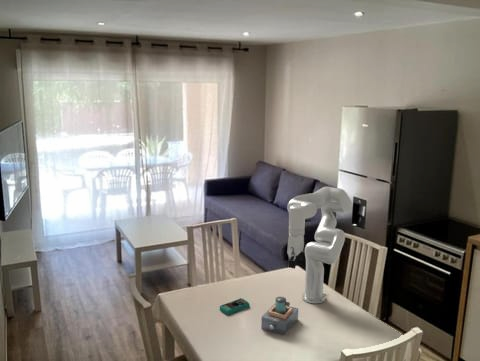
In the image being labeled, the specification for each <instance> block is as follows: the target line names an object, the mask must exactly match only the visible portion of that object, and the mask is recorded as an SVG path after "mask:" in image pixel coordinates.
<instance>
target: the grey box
mask: <svg viewBox="0 0 480 361" xmlns="http://www.w3.org/2000/svg"><path fill="white" fill-rule="evenodd" d="M298 320H299V308H297V307H294V306H291V305H289V306H287V305H286V314H285V315H283V314H279V313H275V303H274V304H273V305H271V307H270V308H269V309H268V310H266V312H265V313H264V314H263V315H262V316H261V329H262V330H265V331H268V332H271V333H274V334H277V335H282V336H286V335H287V334H288V333H289V331H290V330H291V329H292V328H293V327H294V325H295V324H296V323H297V321H298Z"/></svg>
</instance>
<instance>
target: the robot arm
mask: <svg viewBox="0 0 480 361" xmlns="http://www.w3.org/2000/svg"><path fill="white" fill-rule="evenodd" d="M286 206H287V207H286V208H287V209H286V210H287V212H288V240H287V251H286V253H287V256H288V268H291V269H296V262H297V261H301V262H303V260H304V256H305V281H304V282H305V283H304V284H305V285H304V292H303V293H302V294H301V299H302V300H303V301H304V302H306V303H309V304H321V303H324V302H325V301H326V295H325V294H324V275H325V267H324V264H326V265H327V264H328V265H334V264H335V263H337V261H338V259H339V256H340V254H341V252H342V248H343V246H344V243H345V242H346V234H345V232H344V230H343V229H340V228H336V227H337V223H338V222H337V219H336V216H335V215H334V213H338V214H345V215H347V214H349V213H350V212H352V209H353V202H352V200H351V198H350V196H349V195H348V193H347V192H346V191H345V190H344V189H343V188H339V187H333V186H323V187H322V188H319V189H318V190H316V191H315V192H313V193H305V194H300V195H296V196H294V197H293V198H291V199H290V200H289V202H288V203H287V205H286ZM318 209H320V210H321V219H320V222H319V224H318V226H317V229H316V230H315V233H314V240H315V241H310V242H308V243H306V244H305V234H306V233H305V228H306V223H305V222H306V219H311V218H313V217H314V216H315V215H316V214H317V212H318ZM333 212H334V213H333ZM304 246H305V247H304ZM296 260H297V261H296Z"/></svg>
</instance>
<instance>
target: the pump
mask: <svg viewBox="0 0 480 361" xmlns="http://www.w3.org/2000/svg"><path fill="white" fill-rule="evenodd" d="M274 304H275V313H279V314H283V315H285V314H286V305H287V306H291V305H290V304H291V302H289V301H287V299H286V297H284V296H276V297H275V303H274Z"/></svg>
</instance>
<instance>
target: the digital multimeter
mask: <svg viewBox="0 0 480 361" xmlns="http://www.w3.org/2000/svg"><path fill="white" fill-rule="evenodd" d="M248 308H250V302H249V301H247V299H244V298H242V297H241V298H238V299H235V300H233V301H229V302H227V303H224V304H221V305H219V310H220V311H221V312H222V313H223V314H225V315H227V316H229V315H232V314H234V313H237V312H239V311H242V310H244V309H245V310H246V309H248Z"/></svg>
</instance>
